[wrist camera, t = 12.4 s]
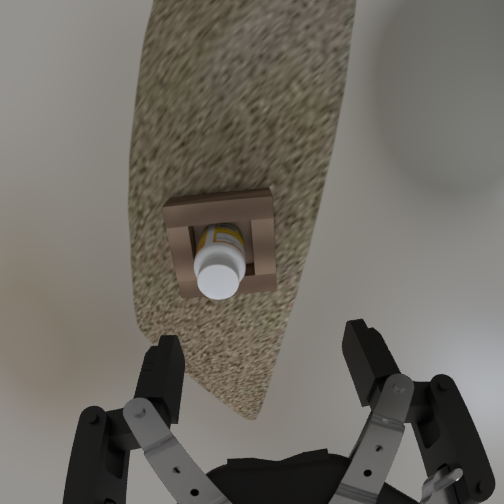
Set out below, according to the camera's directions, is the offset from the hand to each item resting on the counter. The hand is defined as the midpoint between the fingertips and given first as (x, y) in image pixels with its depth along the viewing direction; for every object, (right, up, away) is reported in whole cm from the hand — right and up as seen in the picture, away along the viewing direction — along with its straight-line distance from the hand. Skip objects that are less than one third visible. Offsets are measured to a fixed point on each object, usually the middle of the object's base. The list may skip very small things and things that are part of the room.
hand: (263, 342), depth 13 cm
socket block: (-4, +6, +23) cm, 24 cm away
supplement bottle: (-4, +6, +23) cm, 24 cm away
